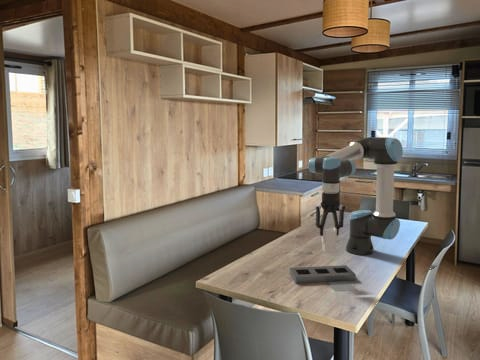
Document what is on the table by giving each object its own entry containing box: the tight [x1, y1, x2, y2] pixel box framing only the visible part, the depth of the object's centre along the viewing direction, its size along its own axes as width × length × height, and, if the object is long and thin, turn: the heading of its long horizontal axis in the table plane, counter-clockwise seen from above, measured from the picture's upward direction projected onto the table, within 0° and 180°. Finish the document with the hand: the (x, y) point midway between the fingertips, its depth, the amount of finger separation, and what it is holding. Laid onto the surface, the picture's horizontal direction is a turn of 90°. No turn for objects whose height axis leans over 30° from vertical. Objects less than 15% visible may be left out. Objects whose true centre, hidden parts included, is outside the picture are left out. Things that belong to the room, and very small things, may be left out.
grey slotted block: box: [289, 264, 357, 285], centre depth 194 cm, size 28×12×4 cm, turn 96°
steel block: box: [321, 228, 337, 254], centre depth 188 cm, size 5×5×10 cm
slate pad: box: [327, 281, 358, 292], centre depth 184 cm, size 10×10×1 cm
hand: (328, 242), depth 188 cm, fingers closed on steel block, 5 cm apart
